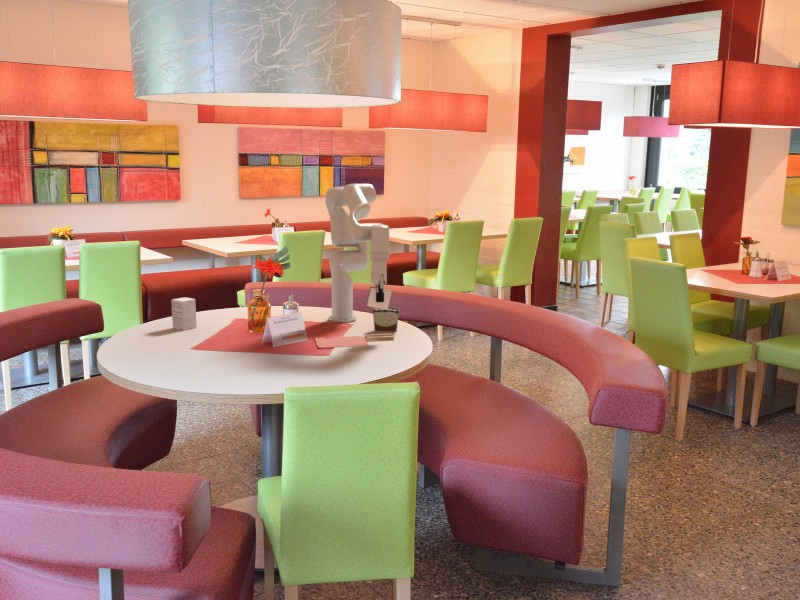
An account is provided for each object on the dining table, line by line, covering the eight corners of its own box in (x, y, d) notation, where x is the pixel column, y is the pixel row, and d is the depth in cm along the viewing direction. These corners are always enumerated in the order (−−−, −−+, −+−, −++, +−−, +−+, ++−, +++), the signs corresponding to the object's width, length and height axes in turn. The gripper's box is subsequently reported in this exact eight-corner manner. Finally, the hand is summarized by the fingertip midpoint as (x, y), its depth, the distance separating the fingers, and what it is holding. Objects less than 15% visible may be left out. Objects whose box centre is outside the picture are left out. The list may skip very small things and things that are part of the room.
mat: (314, 339, 314) (314, 337, 313) (362, 337, 318) (362, 336, 317) (318, 348, 298) (318, 347, 298) (369, 346, 302) (369, 345, 302)
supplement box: (186, 325, 336) (184, 296, 334) (197, 327, 332) (196, 298, 329) (172, 328, 330) (170, 299, 328) (183, 330, 326) (182, 301, 323)
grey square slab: (365, 305, 311) (370, 286, 310) (387, 309, 313) (391, 290, 312) (366, 306, 309) (370, 287, 308) (387, 310, 311) (392, 291, 310)
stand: (364, 338, 316) (364, 334, 316) (390, 337, 318) (391, 333, 318) (367, 341, 310) (367, 338, 309) (393, 340, 312) (394, 337, 312)
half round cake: (401, 329, 333) (401, 306, 331) (400, 332, 327) (400, 309, 325) (373, 328, 334) (373, 305, 332) (371, 331, 328) (371, 308, 326)
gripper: (367, 253, 314) (367, 298, 318) (373, 259, 299) (373, 305, 303) (385, 253, 316) (384, 297, 319) (392, 258, 301) (392, 305, 304)
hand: (379, 301), depth 311 cm, fingers closed on grey square slab, 1 cm apart
